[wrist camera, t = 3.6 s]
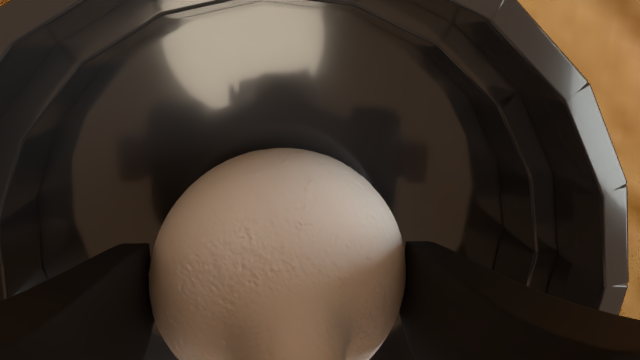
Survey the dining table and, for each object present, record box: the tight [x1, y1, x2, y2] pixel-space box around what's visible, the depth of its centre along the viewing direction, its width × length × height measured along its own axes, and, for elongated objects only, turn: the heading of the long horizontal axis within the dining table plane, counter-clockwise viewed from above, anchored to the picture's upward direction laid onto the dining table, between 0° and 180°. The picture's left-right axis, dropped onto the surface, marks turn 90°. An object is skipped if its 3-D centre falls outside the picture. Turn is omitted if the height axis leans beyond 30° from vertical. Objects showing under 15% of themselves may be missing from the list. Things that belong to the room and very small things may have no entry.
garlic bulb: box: [148, 148, 406, 360], centre depth 10 cm, size 6×6×8 cm
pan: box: [0, 0, 629, 360], centre depth 12 cm, size 15×15×4 cm
